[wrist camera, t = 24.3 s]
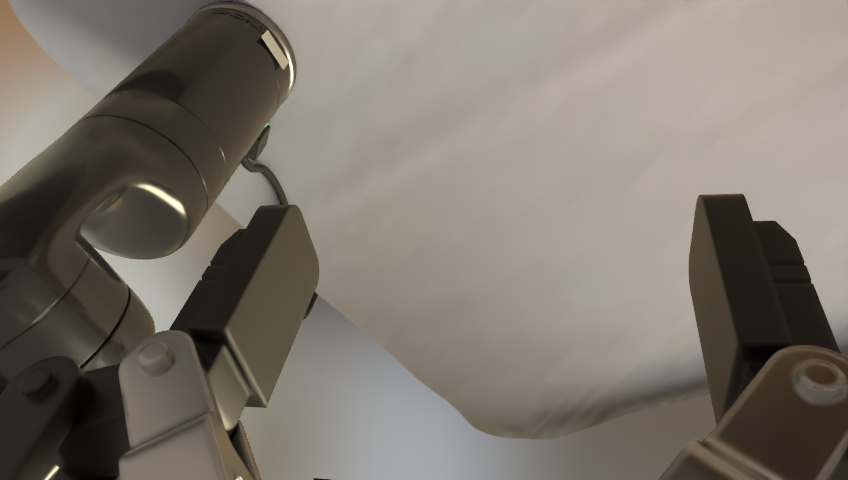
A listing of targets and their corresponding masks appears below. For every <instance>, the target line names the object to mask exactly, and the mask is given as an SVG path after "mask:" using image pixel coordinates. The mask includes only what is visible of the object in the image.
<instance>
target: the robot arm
mask: <svg viewBox="0 0 848 480" xmlns="http://www.w3.org/2000/svg"><path fill="white" fill-rule="evenodd" d="M295 79H296V61H295V57H294V53H293V50H292V48H291V46H290V44H289V42H288V40H287V38H286V37H285V35H284V34H283V32H282V31H281V30H280V29H279V28H278V26H277V25H276V24H275V23H274V22H273V21H272V20H270V19H269V18H268V17H267V16H265V15H264V14H263V13H261V12H259V11H258V10H256V9H254V8H252V7H250V6H247V5H244V4H241V3H237V2H229V1H221V2H215V3H211V4H208V5H206V6H204V7H202V8H201V9H199V10H198V11H197V12H196V13H195V14H194V15H193V16H191V17H190V18H189V20H188V21H187V22H186V24H185V25H184V26H183V27H181V28H180V29H179V30H178V31H177V32H176V33H174V34H173V35H172V36H171V37H170V38H169V39H168V40H167V41H166V42H164V43H163V44H162V45H161V46H160V47H159V48H158V49H157V50H156V51H155V52H153V53H152V54H151V55H150V56H149V57H148V58H147V59H146V60H145V61H144V62H142V63H141V64H140V65H139V66H138V67H137V68H136V69H135V70H134V71H133V72H131V73H130V74H129V75H128V76H127V77H126V78H125V79H124V80H123V81H121V82H120V83H119V84H118V85H117V86H116V87H115V88H114V89H113V90H112V91H110V92H109V93H108V94H107V95H106V96H105V97H104V98H103V99H102V100H101V101H100V102H99V103H98V104H96V105H95V106H94V107H93V108H92V109H91V110H90V111H89V112H88V113H87V114H85V115H84V116H83V117H82V118H81V119H80V120H79V121H78V122H77V123H76V124H74V125H73V126H72V127H71V128H70V129H69V130H68V131H67V132H65V133H64V134H63V135H62V136H61V137H60V138H59V139H57V140H56V141H55V142H54V143H53V144H51V145H50V146H49V147H48V148H46V149H45V150H44V151H43V152H41V153H40V154H39V155H37V156H36V157H35V158H34V159H32V160H31V161H30V162H29V163H27V165H25V166H24V167H23V168H21V169H20V170H19V171H18V172H17V173H16V174H14V176H12V177H11V178H10V179H9V180H8V181H7V182H5V183H4V184H3V185H2V186H1V187H0V480H261V477H260V474H259V471H258V469H257V466H256V463H255V460H254V457H253V454H252V451H251V448H250V445H249V442H248V439H247V437H246V433H245V430H244V427H243V425H242V423H241V422H240V420H239V418H240V416H241V414H242V411H243V409H244V407H264V408H266V406H267V404H268V401H269V399H270V397H271V394H272V392H273V390H274V387H275V385H276V382H277V380H278V377H279V375H280V373H281V370H282V368H283V366H284V363H285V361H286V358H287V356H288V354H289V351H290V349H291V346H292V344H293V342H294V339H295V337H296V334H297V332H298V330H299V327H300V325H301V322H302V320H304V319H306V318H307V316H308V315H309V313H310V312H311V310H312V307H313V305H314V303H315V300H316V298H317V296H318V294H317V293H316V292H315V289H316V286H317V283H318V278H319V263H318V258H317V255H316V252H315V249H314V247H313V244H312V241H311V238H310V235H309V233H308V230H307V227H306V224H305V222H304V219H303V216H302V213H301V211H300V209H299V208H298V207H297V206H296V205H288V202H287V199H286V197H285V194H284V192H283V190H282V187H281V186H280V184H279V182H278V180H277V179H276V177H275V176H274V174H273V173H272V172H271V171H270V170H269V169H268V168H267V167H266V166H264V165H260V164H257V165H253V164H252V163H251V162H250V161H249V160H248V158H250V159H252V160H255V161H256V160H257V158H258V156H259V155H260V153H261V152H262V150H263V149H264V147H265V146H266V143H267V138H268V134H269V130H270V126H269V125H267V123H268V122H269V120H270V119H271V118H272V116H273V115H274V113H275V112H276V110H277V109H278V107H279V106H280V105H281V104H282V103H283V102H284V101H285V99H286V98H287V97H288V95H289V94H290V92H291V90H292V88H293V86H294V83H295ZM240 163H242V165H243V166H244V167H245V168H246V169H247V170H248V171H250V172H261V173H262V174H263V175H264V176H265V177H266V178H267V179H268V180H269V181H270V183H271V184H272V186H273V188H274V189H275V191H276V194H277V196H278V199H279V201H280V205H266V206H260V207H259V208H258V209H257V211H256V212H255V214H254V216H253V218H252V219H251V221H250V223H249V224H248V226H247V228H246V229H239V230H238V231H237V232H235V233H234V234H233V235H232V236H231V237H230V238H229V239H227V240H226V241H225V242H224V243H223V244H222V245H221V246H220V248H219V249H218V251H217V253H216V254H215V256H214V258H213V259H212V261H211V262H210V263H211V266H208V267H207V269H206V270H205V272H204V274H203V275H202V280H199V282H198V283H197V285H196V287H195V288H194V290H193V292H192V293H191V295H190V296H189V298H188V300H187V301H186V303H185V305H184V306H183V308H182V309H181V311H180V313H179V314H178V316H177V318H176V319H175V321H174V322H173V324H172V326H171V327H170V329H169V330H167V331H162V332H158V333H155V326H154V321H153V318H152V316H151V314H150V313H149V311H148V309H147V308H146V307H145V305H144V304H143V302H142V301H141V300H140V299H139V297H138V296H137V295H136V294H135V293H134V292H133V290H131V288H129V286H128V285H127V284H126V283H125V282H124V281H123V279H122V278H121V277H120V276H119V275H118V274H117V273H116V272H115V271H114V270H113V268H112V267H111V266H110V265H109V264H108V263H107V262H106V261H105V260H104V259H103V257H102V256H101V255H100V254H99V253H98V252H97V251H96V250H95V249H94V248H93V247H95V248H97V249H99V250H102V251H104V252H107V253H110V254H113V255H117V256H121V257H124V258H130V259H143V260H144V259H156V258H161V257H165V256H168V255H170V254H172V253H174V252H175V251H177V250H178V249H179V248H181V247H182V246H183V245H184V244H185V243H186V242H187V241H188V240H189V238H190V237H191V236H192V234H193V233H194V232H195V230H196V229H197V227H198V226H199V224H200V223H201V221H202V219H203V218H204V216H205V215H206V213H207V212H208V211H209V209H210V208H211V206H212V205H213V203H214V202H215V200H216V199H217V197H218V196H219V194H220V193H221V192H222V190H223V188H224V187H225V185H226V184H227V182H228V181H229V179H230V178H231V176H232V175H233V173H234V172H235V170H236V169H237V168H238V166H239V165H240ZM689 284H690V290H691V296H692V301H693V306H694V311H695V316H696V322H697V327H698V332H699V337H700V342H701V348H702V353H703V358H704V363H705V368H706V373H707V379H708V384H709V389H710V394H711V399H712V404H713V410H714V415H715V420H716V427H715V428H714V429H713V430H712V432H711V433H710V434H709V435H708V436H707V437H706V438H705V439H704V440H703V441H701V440H700V439H698V438H696V439H693V440H692V441H690V442H689V443H688V444H687V445H686V446H685V447H684V448H683V449H682V451H681V452H680V453H679V454H678V456H677V457H676V458H675V459H674V460H673V462H672V463H671V464H670V465H669V467H668V468H667V469H666V470H665V472H664V473H663V474H662V475H661V476H660V478H659V479H658V480H848V357H846V356H844V355H842V354H841V352H840V350H839V348H838V346H837V343H836V341H835V338H834V336H833V333H832V331H831V328H830V326H829V323H828V321H827V318H826V315H825V313H824V310H823V308H822V305H821V303H820V300H819V298H818V295H817V293H816V290H815V288H814V285H813V284H811V278H810V275H809V273H808V270H807V267H806V266H804V260H803V257H802V255H801V252H800V250H799V247H798V245H797V242H796V240H795V239H794V238H793V237H792V236H791V235H790V234H789V233H788V232H787V231H786V230H784V229H783V228H782V227H781V226H780V225H779V224H778V223H777V222H776V221H753V219H752V216H751V213H750V210H749V207H748V204H747V201H746V199H745V196H744V195H743V194H718V195H699V196H698V199H697V203H696V210H695V217H694V225H693V232H692V240H691V247H690V255H689ZM314 480H329V479H316V478H314Z"/></svg>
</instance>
